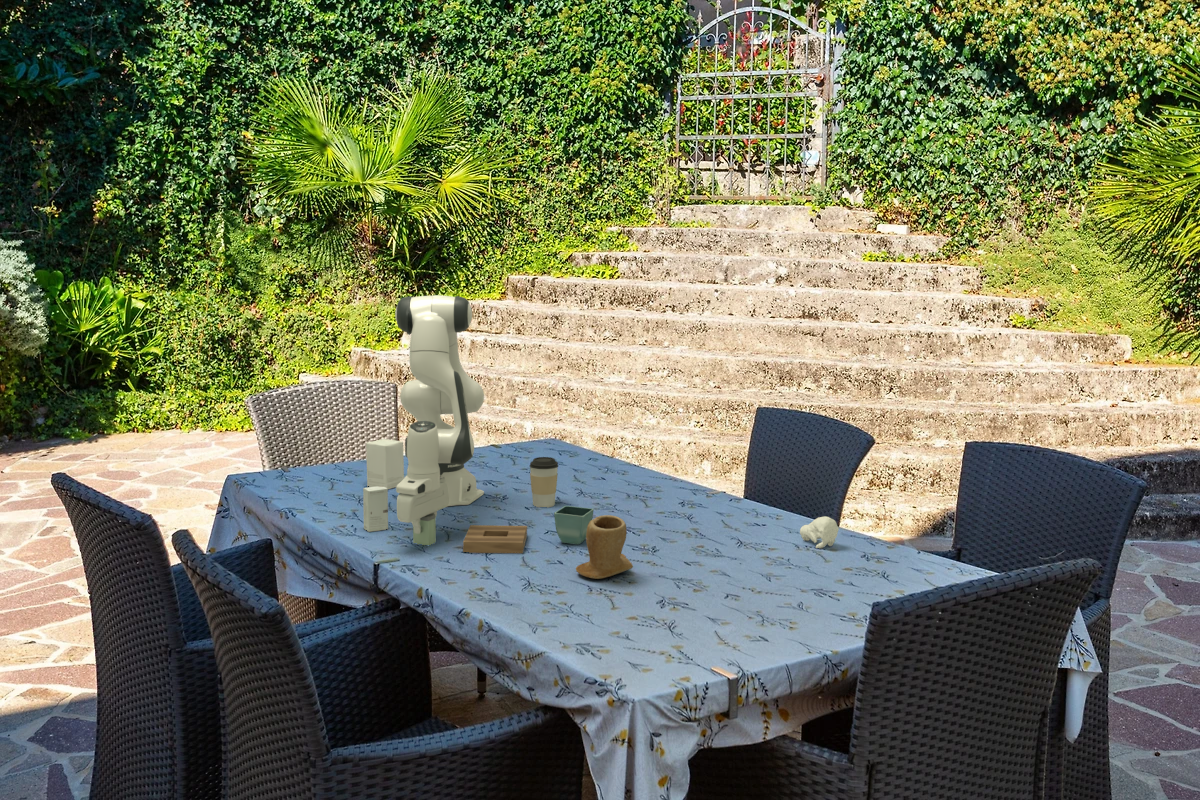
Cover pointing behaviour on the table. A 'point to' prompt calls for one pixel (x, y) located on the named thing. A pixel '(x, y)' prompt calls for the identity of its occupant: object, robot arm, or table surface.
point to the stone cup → (605, 548)
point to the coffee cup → (543, 481)
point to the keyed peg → (426, 531)
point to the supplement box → (384, 463)
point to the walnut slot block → (495, 539)
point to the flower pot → (572, 523)
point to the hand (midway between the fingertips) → (424, 530)
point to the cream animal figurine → (820, 531)
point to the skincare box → (375, 508)
